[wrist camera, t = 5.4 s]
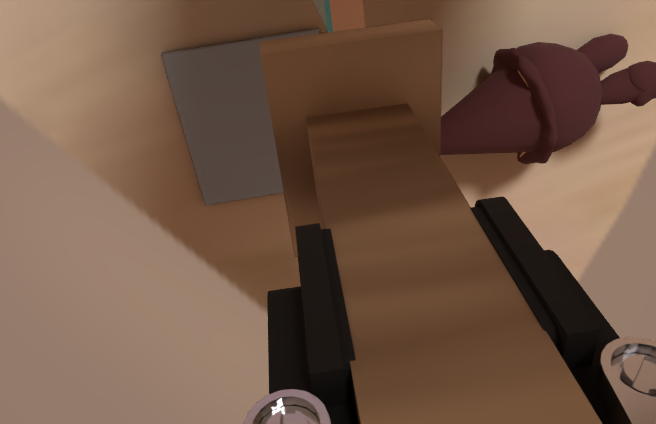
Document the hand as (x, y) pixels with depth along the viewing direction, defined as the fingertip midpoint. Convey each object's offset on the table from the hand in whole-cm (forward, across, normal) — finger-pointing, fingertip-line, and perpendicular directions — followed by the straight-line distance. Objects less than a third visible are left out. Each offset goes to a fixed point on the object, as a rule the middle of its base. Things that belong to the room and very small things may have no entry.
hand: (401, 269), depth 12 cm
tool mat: (+22, +4, +6) cm, 23 cm away
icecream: (+23, -12, +6) cm, 26 cm away
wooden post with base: (+7, 0, 0) cm, 7 cm away
